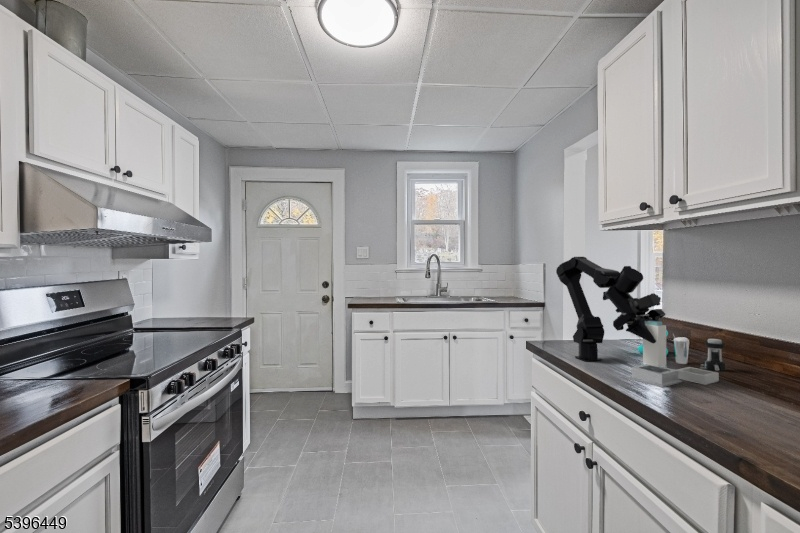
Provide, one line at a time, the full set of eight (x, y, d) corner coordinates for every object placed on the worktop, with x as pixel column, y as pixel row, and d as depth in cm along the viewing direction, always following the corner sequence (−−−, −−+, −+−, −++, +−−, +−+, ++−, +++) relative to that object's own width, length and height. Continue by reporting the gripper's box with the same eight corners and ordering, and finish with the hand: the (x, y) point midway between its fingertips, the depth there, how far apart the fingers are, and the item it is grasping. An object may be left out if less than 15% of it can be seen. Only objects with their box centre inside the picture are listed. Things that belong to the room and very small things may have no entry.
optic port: (628, 378, 123) (628, 367, 123) (648, 374, 127) (647, 363, 127) (662, 387, 114) (662, 375, 114) (682, 382, 118) (682, 370, 118)
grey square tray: (675, 377, 123) (675, 369, 123) (689, 374, 126) (689, 366, 126) (705, 384, 116) (705, 376, 116) (718, 381, 119) (718, 372, 119)
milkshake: (677, 360, 144) (677, 332, 144) (692, 364, 139) (692, 335, 139) (668, 361, 143) (668, 333, 143) (683, 365, 138) (683, 336, 138)
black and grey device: (704, 371, 130) (704, 340, 130) (696, 367, 135) (696, 337, 135) (728, 372, 128) (728, 341, 128) (720, 368, 133) (719, 338, 133)
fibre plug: (643, 363, 122) (643, 321, 121) (650, 362, 123) (650, 320, 123) (658, 367, 118) (658, 322, 117) (666, 365, 119) (666, 321, 119)
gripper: (622, 286, 119) (660, 328, 110) (659, 284, 128) (697, 322, 118) (598, 309, 127) (632, 351, 117) (635, 306, 135) (669, 344, 125)
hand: (659, 341), depth 119 cm, fingers closed on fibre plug, 4 cm apart
